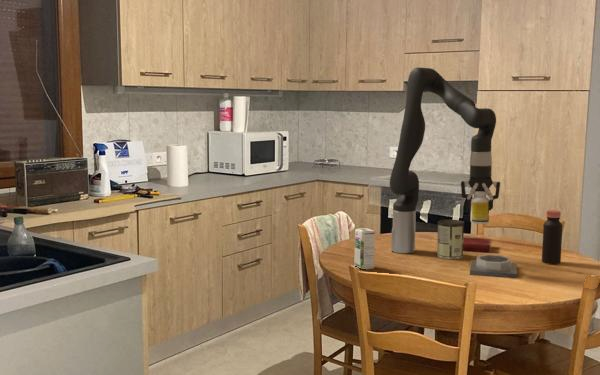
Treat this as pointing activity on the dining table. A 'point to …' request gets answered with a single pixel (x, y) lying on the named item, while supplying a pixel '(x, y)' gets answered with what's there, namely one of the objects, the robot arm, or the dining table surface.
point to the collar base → (493, 266)
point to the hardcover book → (477, 244)
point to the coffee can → (450, 239)
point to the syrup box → (364, 248)
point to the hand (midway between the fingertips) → (479, 209)
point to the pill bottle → (479, 208)
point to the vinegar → (552, 238)
